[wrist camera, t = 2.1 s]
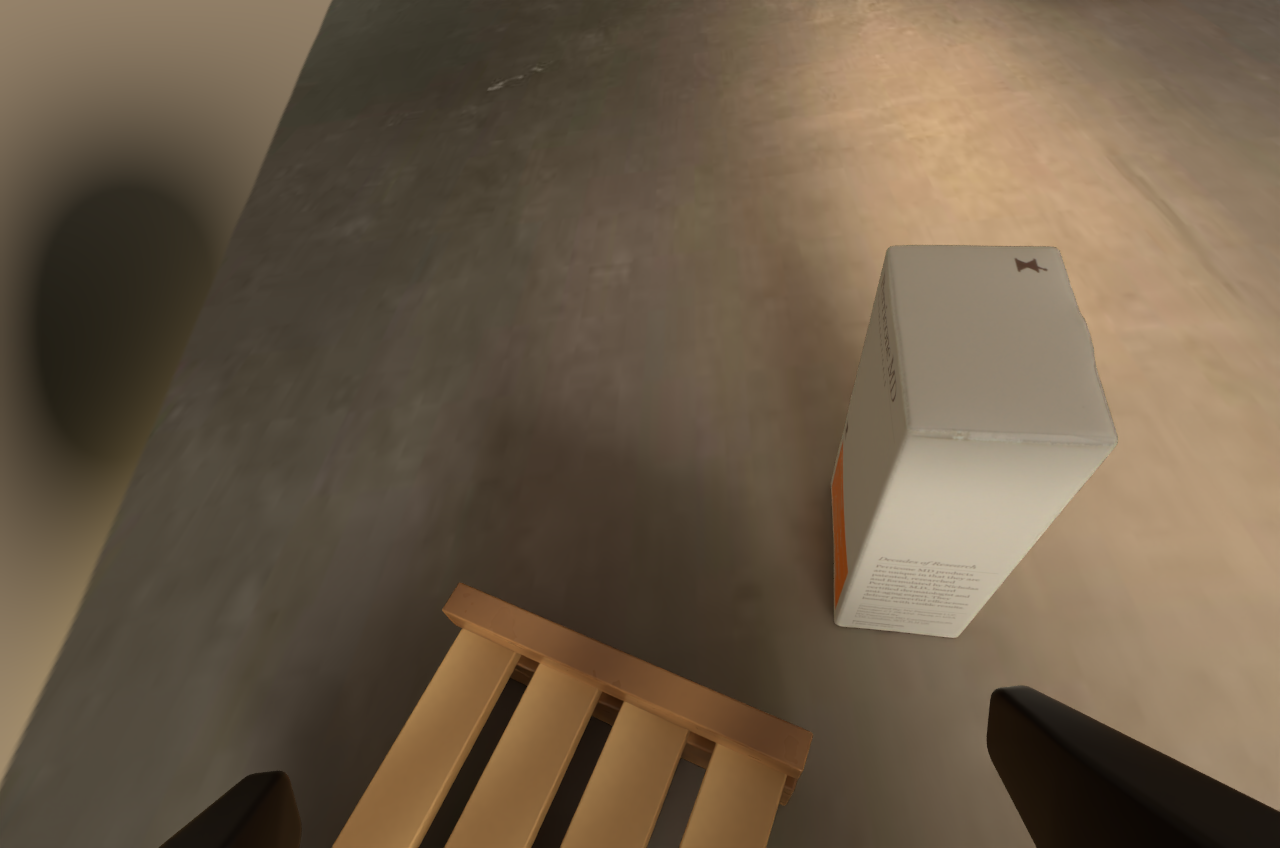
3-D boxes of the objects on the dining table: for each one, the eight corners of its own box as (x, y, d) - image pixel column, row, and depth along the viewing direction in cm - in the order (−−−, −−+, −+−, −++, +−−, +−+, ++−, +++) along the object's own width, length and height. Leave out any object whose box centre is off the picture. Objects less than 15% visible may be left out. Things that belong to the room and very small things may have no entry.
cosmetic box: (826, 481, 27) (884, 237, 17) (940, 489, 26) (1065, 239, 17) (829, 632, 24) (904, 430, 14) (960, 646, 23) (1134, 443, 13)
